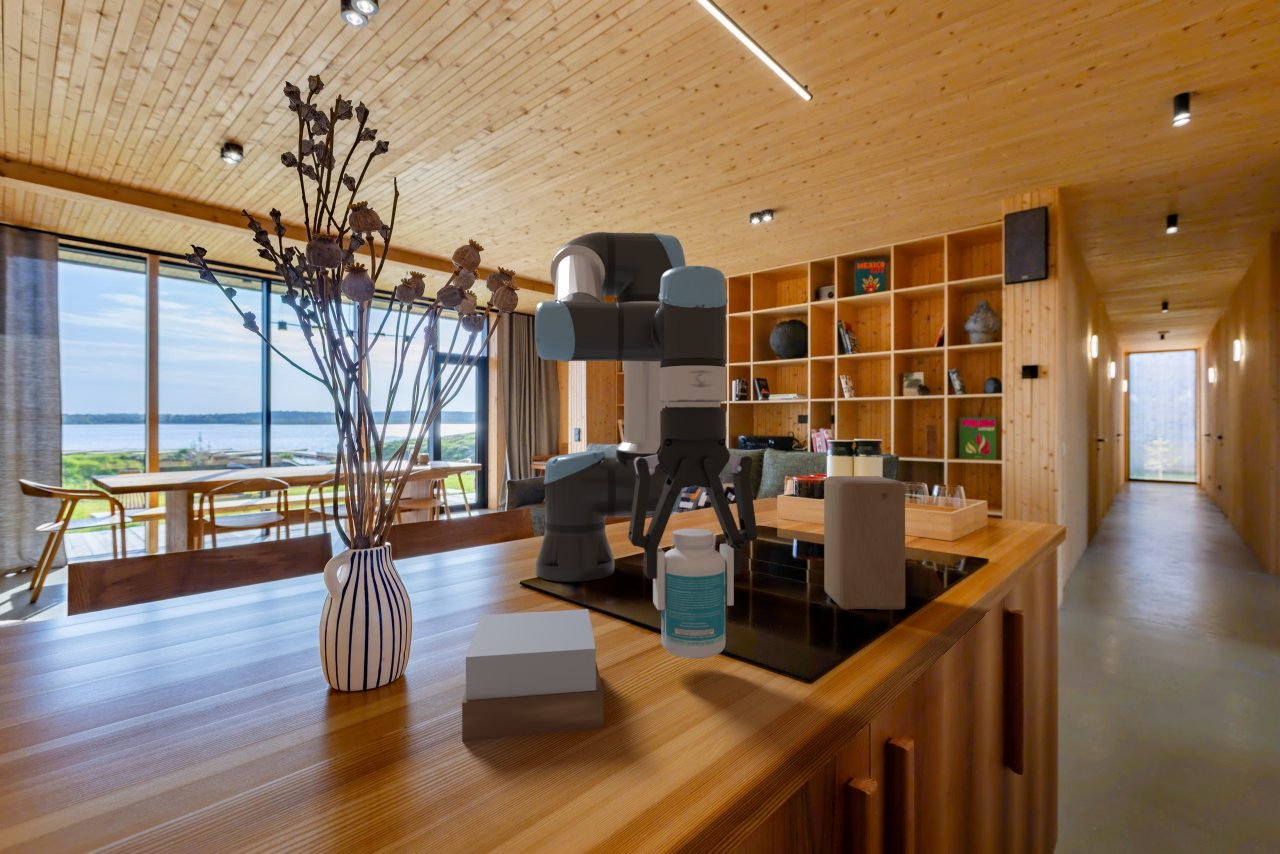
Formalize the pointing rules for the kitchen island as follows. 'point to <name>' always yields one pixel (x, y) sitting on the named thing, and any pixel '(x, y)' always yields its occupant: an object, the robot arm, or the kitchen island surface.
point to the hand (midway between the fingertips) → (693, 603)
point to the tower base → (533, 714)
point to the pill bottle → (694, 596)
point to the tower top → (531, 655)
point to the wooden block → (864, 542)
